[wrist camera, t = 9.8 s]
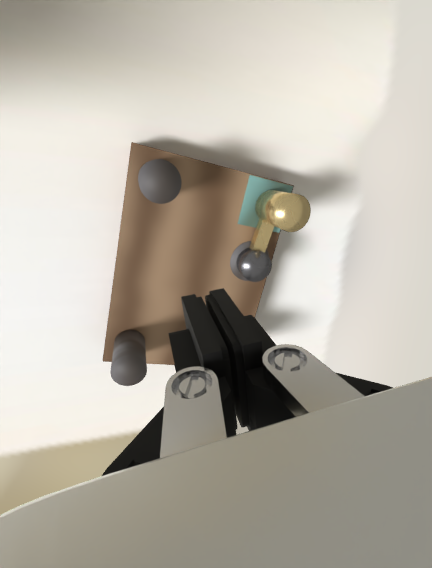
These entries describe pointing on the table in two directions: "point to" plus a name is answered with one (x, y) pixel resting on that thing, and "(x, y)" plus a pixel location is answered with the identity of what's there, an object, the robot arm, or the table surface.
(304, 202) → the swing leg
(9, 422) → the table surface
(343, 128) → the table surface
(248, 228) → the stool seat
